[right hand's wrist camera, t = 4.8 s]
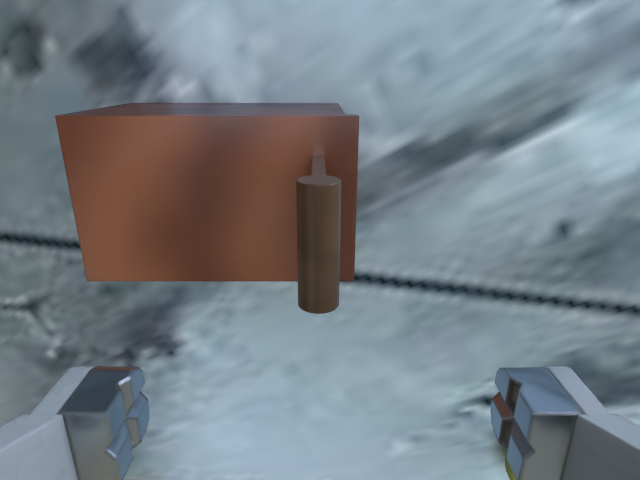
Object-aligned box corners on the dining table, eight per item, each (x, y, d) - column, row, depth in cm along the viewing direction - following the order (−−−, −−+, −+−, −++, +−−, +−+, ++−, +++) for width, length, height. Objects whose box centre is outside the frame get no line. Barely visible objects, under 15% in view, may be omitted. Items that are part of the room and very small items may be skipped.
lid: (357, 114, 25) (375, 133, 17) (352, 274, 28) (366, 352, 20) (64, 114, 25) (-53, 133, 17) (94, 274, 28) (8, 352, 20)
